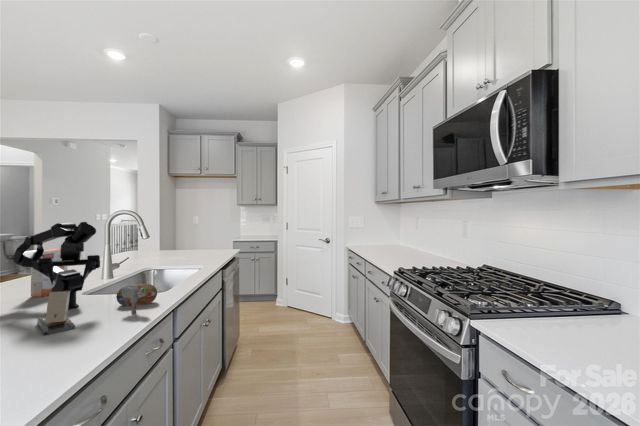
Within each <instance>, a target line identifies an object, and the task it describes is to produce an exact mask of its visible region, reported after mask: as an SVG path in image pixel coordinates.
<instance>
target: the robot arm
mask: <svg viewBox="0 0 640 426" xmlns="http://www.w3.org/2000/svg"><path fill="white" fill-rule="evenodd" d="M96 233H97V229H96V228H95V226H94V225H92V224H89V223H88V222H87V221H81V222H79V224H78V225H77V224H76V223H75V222H57V223H55V224H54V225H51V227H50V229H47V230H45V231H42V232H39V233H36V234H34V235H29V236H27V237H25V239H24V241H23V242H22V243H21V244H20V245H19V246H18V247H17V248H16V250H15V251H14V255H12V256H13V257H12V260H13V262H14V263H15V265H17V266H20V267H23V268H31V267H32V268H34V269H35V270H37V271H39V272H40V273H42V274H44V275H46V276H47V277H49V278H50V281H51V284H53V282H54V281H55V286H54V287H53V288H52V289H51V291H52V292H64V291H70V297H69V305H68V310H70V309H74V308H79V307H80V305H79V304H78V303H77V292H80V291H83V289H84V284H85V280H86V279H87V278H88V276H89V275H90V274H91V273H92V271H95V270H96V269H99V268H101V257H100V255H99V254H93V255H92V254H91V255H90V254H89V255H87V257H86V259H81V258H82V257H81V254H82V252H85V251H84V250H85V243H87V242H88V241H89V240H90V239H91V238H93V236H94V235H96ZM59 238H64V240H63V242H62V244H61V245H60V248H61V251H60V253H61V255H60V258H61V259H62V260H60V261H53V260H52V258H43V252H44V249H45V248H44V247H43V244H45V243H47V242H50V241H53V240H56V239H59ZM31 246H36V247H37V248H36V249H31V250H30V247H31ZM57 266H67V267H71V266H73V267H74V266H75V267H76V266H85V267H84V271H83V275H82V274H81V272H79V271H77V270H76V269H67V270H66V271H64V270H62V269H61V268H59V267H57Z"/></svg>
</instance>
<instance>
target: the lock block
mask: <svg viewBox="0 0 640 426" xmlns="http://www.w3.org/2000/svg"><path fill="white" fill-rule="evenodd" d="M69 297H70V291H64V292H49V295H48V300H47V306H46V314H45V319H44V320H45V323H49V322H62V321H66V320H67V317H68V312H69V309H68V305H69Z"/></svg>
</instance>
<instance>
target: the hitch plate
mask: <svg viewBox="0 0 640 426" xmlns="http://www.w3.org/2000/svg"><path fill="white" fill-rule="evenodd" d="M36 320H37V321H36V322H37V323H36V324H37V327H38V329H39V330H40V331H41V333H42V334H43V336H49V335H51V334H57V333H61V332H65V331H70V330H74V329H76V324H75V323H74V322H72V321H71V319H70V318H69V317H68V316H67V320H66V321H62V322H49V323H45V319H43V318H42V316H40V317H37V319H36Z"/></svg>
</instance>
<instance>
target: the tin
mask: <svg viewBox="0 0 640 426" xmlns="http://www.w3.org/2000/svg"><path fill="white" fill-rule="evenodd" d="M126 286H127V285H125V286H124V287H126ZM130 286H134V287H138V289H141V288H145V289H146V290H147V291H146V295H145V296H144V297H141V298H137V300H138V301H136V306H143V305H150V304H151V303H153V302H154V301H155V300H156V298H157V295H158V289H157V288H156V287H155V286H154V285H152V283H151V284H150V283H145V284H143V283H142V284H133V285H132V284H131V285H130ZM138 295H140V294H138ZM116 301H117V303H118V304H119V305H120V306H123V307H129V306H131V307H132V303H131V302H130V298H126V297H123V296H122V291H121V288H120V289H119V290H118V291H117V294H116Z"/></svg>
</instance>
